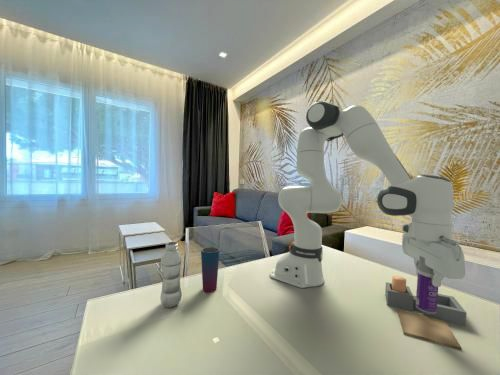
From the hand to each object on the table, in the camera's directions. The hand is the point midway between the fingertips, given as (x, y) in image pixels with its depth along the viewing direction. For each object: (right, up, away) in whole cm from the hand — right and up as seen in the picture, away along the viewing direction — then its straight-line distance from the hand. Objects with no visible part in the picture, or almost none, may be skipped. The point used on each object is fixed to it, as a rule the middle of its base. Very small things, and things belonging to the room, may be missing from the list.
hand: (427, 280), depth 63 cm
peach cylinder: (+1, -13, +13) cm, 19 cm away
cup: (-66, -12, +19) cm, 69 cm away
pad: (0, -14, 0) cm, 14 cm away
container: (0, -9, 0) cm, 8 cm away
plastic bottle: (-76, -12, +9) cm, 78 cm away
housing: (+6, -14, +11) cm, 18 cm away
